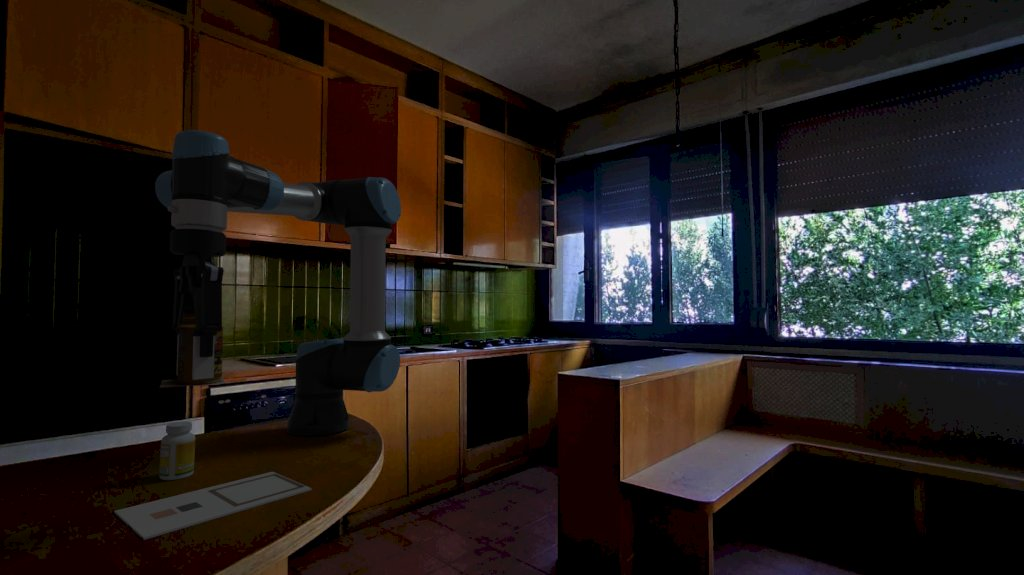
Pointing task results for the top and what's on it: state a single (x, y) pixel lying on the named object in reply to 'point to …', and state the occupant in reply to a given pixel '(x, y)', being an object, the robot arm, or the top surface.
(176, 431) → the supplement bottle
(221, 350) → the condiment
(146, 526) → the sheet
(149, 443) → the top surface
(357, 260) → the robot arm
